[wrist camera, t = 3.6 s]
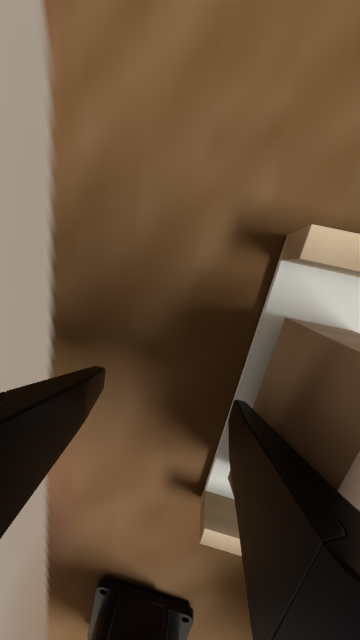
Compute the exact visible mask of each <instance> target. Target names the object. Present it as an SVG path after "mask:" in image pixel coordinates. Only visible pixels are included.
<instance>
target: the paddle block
mask: <svg viewBox="0 0 360 640" xmlns="http://www.w3.org/2000/svg"><path fill="white" fill-rule="evenodd" d="M252 409H253V410H254V411H255V412H256V413H257V414H259V415H260V416H261V417H262V418H263V419H264V420H265V421H266V422H267V423H268V424H269V425H270V426H271V427H272V428H273V429H274V430H275V431H276V432H277V433H278V434H279V435H280V436H281V437H282V438H283V439H284V440H285V441H286V442H287V443H288V444H289V445H290V446H291V447H292V448H293V449H294V450H295V451H296V452H297V453H299V454H300V455H301V456H302V457H303V458H304V459H305V460H306V461H307V462H308V463H309V464H310V465H311V466H312V467H313V470H316V471H317V472H318V473H319V474H320V475H321V476H322V477H323V478H324V479H325V480H326V481H327V482H328V483H329V484H330V485H331V486H333V487H334V488H335V489H336V490H337V491H338V492H339V493H340V494H341V495H342V496H343V497H344V498H345V499H346V500H348V501H349V502H350V503H351V504H352V505H353V506H354V507H355V508H356V509H358V510H359V511H360V333H357V332H355V331H352V330H347V329H342V328H337V327H332V326H327V325H322V324H317V323H312V322H307V321H302V320H297V319H292V318H287V317H285V319H284V322H283V324H282V327H281V330H280V333H279V336H278V338H277V341H276V344H275V347H274V350H273V352H272V355H271V358H270V361H269V364H268V366H267V369H266V372H265V375H264V378H263V380H262V383H261V386H260V389H259V391H258V394H257V397H256V400H255V403H254V405H253V408H252ZM228 480H229V483H230V487H231V490H232V493H233V485H232V478H231V470H230V472H229V475H228ZM233 496H234V493H233Z"/></svg>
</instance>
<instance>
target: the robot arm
mask: <svg viewBox="0 0 360 640" xmlns="http://www.w3.org/2000/svg"><path fill="white" fill-rule="evenodd" d="M104 380H105V368H103V367H99V366H93V367H90V368H86V369H83V370H79V371H76V372H72V373H69V374H65V375H61V376H58V377H54V378H51V379H47V380H44V381H41V382H37V383H33V384H30V385H26V386H23V387H19V388H16V389H12V390H9V391H6V392H1V393H0V538H1V537H2V536H3V534H4V533H5V531H6V530H7V529H8V527H9V526H10V525H11V523H12V522H13V520H14V519H15V518H16V516H17V515H18V513H19V512H20V511H21V509H22V508H23V507H24V505H25V504H26V502H27V501H28V500H29V498H30V497H31V496H32V494H33V493H34V491H35V490H36V489H37V487H38V486H39V484H40V483H41V482H42V480H43V479H44V478H45V476H46V475H47V473H48V472H49V471H50V469H51V468H52V466H53V465H54V464H55V462H56V461H57V460H58V458H59V457H60V455H61V454H62V453H63V451H64V450H65V448H66V447H67V446H68V444H69V443H70V442H71V440H72V439H73V437H74V436H75V435H76V433H77V432H78V430H79V429H80V428H81V426H82V425H83V423H84V422H85V420H86V418H87V417H88V415H89V413H90V411H91V410H92V408H93V406H94V404H95V403H96V401H97V399H98V397H99V395H100V394H101V392H102V390H103V387H104ZM228 430H229V462H230V470H231V478H232V485H233V493H234V500H235V508H236V515H237V523H238V530H239V538H240V545H241V553H242V560H243V568H244V575H245V583H246V590H247V598H248V605H249V613H250V620H251V628H252V635H253V640H360V511H359V510H358V509H356V508H355V507H354V506H353V505H352V504H351V503H350V502H349V501H348V500H346V499H345V498H344V497H343V496H342V495H341V494H340V493H339V492H338V491H337V490H336V489H335V488H334V487H333V486H331V485H330V484H329V483H328V482H327V481H326V480H325V479H324V478H323V477H322V476H321V475H320V474H319V473H318V472H317V471H316V470H313V467H312V466H311V465H310V464H309V463H308V462H307V461H306V460H305V459H304V458H303V457H302V456H301V455H300V454H299V453H297V452H296V451H295V450H294V449H293V448H292V447H291V446H290V445H289V444H288V443H287V442H286V441H285V440H284V439H283V438H282V437H281V436H280V435H279V434H278V433H277V432H276V431H275V430H274V429H273V428H272V427H271V426H270V425H269V424H268V423H267V422H266V421H265V420H264V419H263V418H262V417H261V416H260V415H259V414H257V413H256V412H255V411H254V410H253V409H252V408H251V407H250V406H249V405H248V404H247V403H246V402H245V401H241V400H237V399H236V400H234V402H233V405H232V408H231V412H230V415H229V420H228ZM192 624H193V609H192V608H191V607H189V606H187V605H184V604H181V603H178V602H175V601H172V600H169V599H166V598H163V597H160V596H157V595H154V594H151V593H148V592H145V591H142V590H139V589H136V588H133V587H130V586H127V585H124V584H121V583H118V582H115V581H112V580H109V579H105V578H103V579H100V580H99V583H98V586H97V589H96V593H95V598H94V604H93V609H92V615H91V621H90V626H89V632H88V640H186V639H187V636H188V634H189V631H190V629H191V626H192Z"/></svg>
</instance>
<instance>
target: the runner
mask: <svg viewBox="0 0 360 640" xmlns="http://www.w3.org/2000/svg"><path fill="white" fill-rule="evenodd" d="M285 317H287V318H292V319H297V320H302V321H307V322H312V323H317V324H322V325H327V326H332V327H337V328H342V329H347V330H352V331H355V332H357V333H360V277H355V276H350V275H346V274H341V273H337V272H332V271H328V270H323V269H318V268H314V267H309V266H305V265H300V264H296V263H291V262H286V261H282V260H280V261H278V264H277V268H276V271H275V274H274V277H273V280H272V283H271V286H270V289H269V292H268V295H267V298H266V301H265V304H264V307H263V310H262V313H261V316H260V319H259V323H258V326H257V329H256V332H255V335H254V338H253V341H252V344H251V347H250V350H249V353H248V356H247V359H246V362H245V365H244V368H243V371H242V375H241V378H240V381H239V384H238V387H237V390H236V393H235V396H234V399H233V402H234V400H236V399H237V400H241V401H245V402H246V403H247V404H248V405H249V406H250V407H251V408H253V405H254V403H255V400H256V397H257V394H258V391H259V389H260V386H261V383H262V380H263V378H264V375H265V372H266V369H267V366H268V364H269V361H270V358H271V355H272V352H273V350H274V347H275V344H276V341H277V338H278V336H279V333H280V330H281V327H282V324H283V322H284V319H285ZM233 402H232V405H233ZM232 405H231V408H232ZM231 408H230V411H229V414H228V417H227V420H226V423H225V427H224V430H223V433H222V436H221V439H220V442H219V445H218V448H217V451H216V454H215V457H214V460H213V463H212V466H211V469H210V472H209V475H208V478H207V482H206V485H205V491H208V492H212V493H215V494H219V495H222V496H225V497H229V498H232V499H234V496H233V493H232V490H231V487H230V483H229V480H228V475H229V472H230V462H229V430H228V420H229V415H230V412H231Z"/></svg>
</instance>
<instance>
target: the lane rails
mask: <svg viewBox="0 0 360 640" xmlns="http://www.w3.org/2000/svg"><path fill="white" fill-rule="evenodd" d="M280 260H282V261H286V262H291V263H296V264H300V265H305V266H309V267H314V268H318V269H323V270H328V271H332V272H337V273H341V274H346V275H350V276H355V277H360V234H357V233H352V232H347V231H343V230H338V229H333V228H328V227H323V226H318V225H313V224H311V225H309V226H306V227H304V228H301V229H299V230H297V231H294V232H292V233H289V234H287V237H286V240H285V243H284V246H283V249H282V252H281V255H280V258H279V261H280ZM200 543H201V544H204V545H207V546H210V547H213V548H217V549H220V550H223V551H226V552H230V553H233V554H236V555H239V556H242V553H241V545H240V538H239V530H238V523H237V515H236V508H235V500H234V499H232V498H229V497H225V496H222V495H219V494H215V493H212V492H208V491H205V488H204V491H203V494H202V497H201V517H200Z"/></svg>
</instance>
